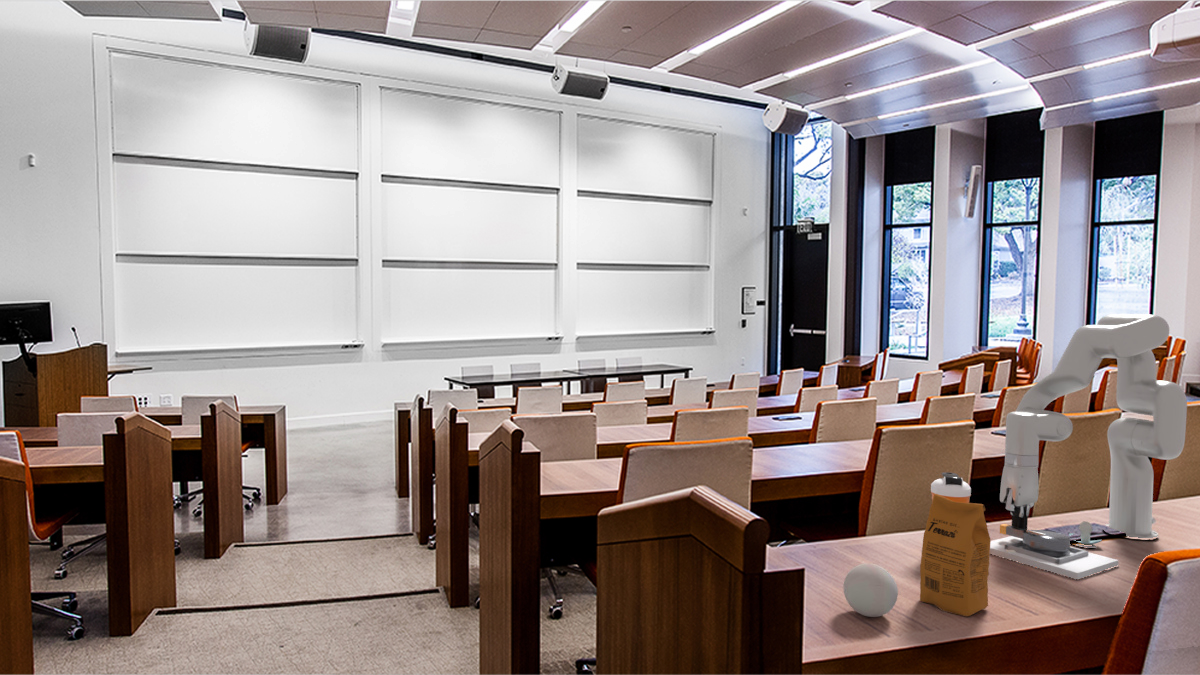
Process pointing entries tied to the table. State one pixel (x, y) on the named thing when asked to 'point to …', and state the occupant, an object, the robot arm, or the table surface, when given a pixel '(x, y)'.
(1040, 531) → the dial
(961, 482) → the shaker bottle
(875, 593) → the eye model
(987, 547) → the coffee package
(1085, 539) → the pacifier
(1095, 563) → the panel
